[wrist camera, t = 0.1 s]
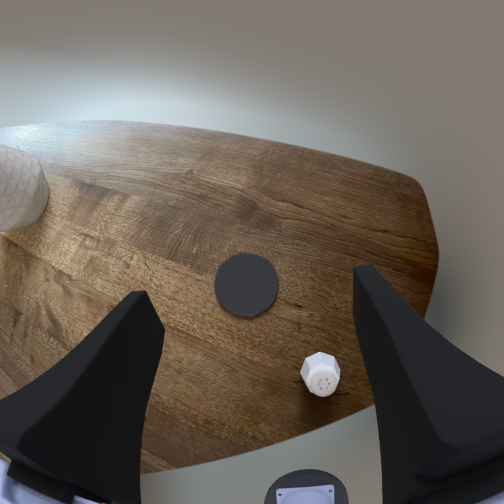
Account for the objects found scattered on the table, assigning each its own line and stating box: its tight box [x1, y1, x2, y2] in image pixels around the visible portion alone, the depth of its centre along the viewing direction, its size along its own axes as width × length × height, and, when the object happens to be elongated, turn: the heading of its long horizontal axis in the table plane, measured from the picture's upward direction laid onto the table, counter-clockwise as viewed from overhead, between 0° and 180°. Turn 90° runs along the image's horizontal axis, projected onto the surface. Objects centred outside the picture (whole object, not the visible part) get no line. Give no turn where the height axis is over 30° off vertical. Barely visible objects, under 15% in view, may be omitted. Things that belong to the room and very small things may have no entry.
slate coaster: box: [215, 253, 278, 317], centre depth 45 cm, size 9×9×1 cm
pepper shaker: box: [300, 352, 340, 397], centre depth 35 cm, size 5×5×11 cm
